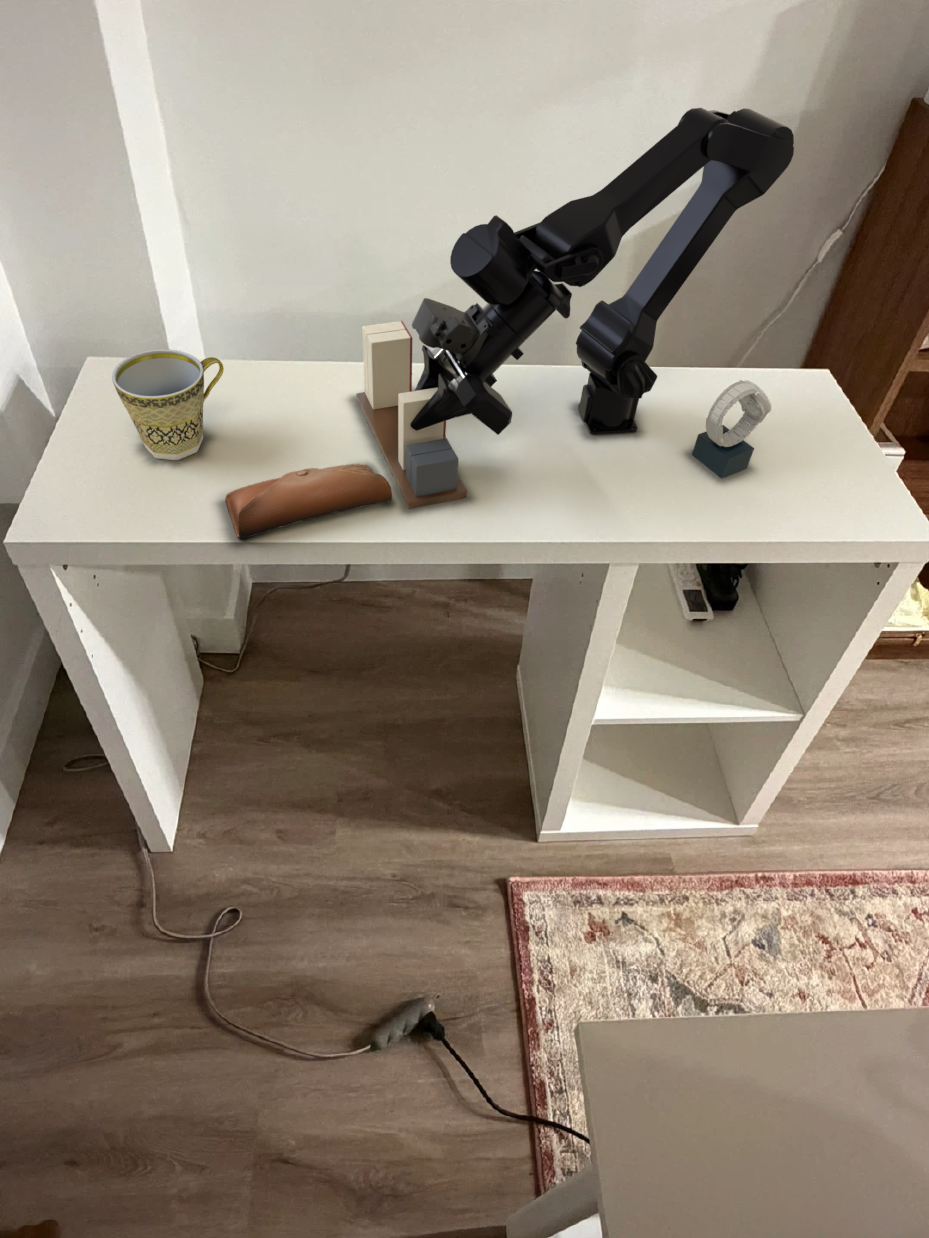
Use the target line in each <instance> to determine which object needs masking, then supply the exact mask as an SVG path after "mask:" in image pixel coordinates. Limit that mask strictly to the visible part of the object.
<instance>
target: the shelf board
mask: <svg viewBox="0 0 929 1238" xmlns="http://www.w3.org/2000/svg"><path fill="white" fill-rule="evenodd" d="M355 394H356V396H355V397H356V402H357V403H358V406H359V408H360V410H361V412H362V414H363V416H364V418H365V420H366V423H367V424H368V426H369V429H370V431H371V433H372V435H373V437H374V439H375V441H376V444H377V445H378V447H379V449H380V451H381V454H382V456H383V458H384V460H385V462H386V465H387V466H388V469H389V471H390V472H391V475H392V477H393V479H394V481H395V483H396V485H397V487H398V489H399V492H400V494H401V496H402V497H403V500H404V502H405V504H406V506H407V509H414V508H419V507H425V506H429V505H435V504H440V503H446V502H450V501H456V500H460V499H466V498H467V496H468V491H467V489H466V487H465V484H464V483H463V481H462V479H461V478H460V476H459V474H458V473H457V488H456V490H451V491H446V492H440V493H435V494H430V495H425V496H419V497H416V496H415V494H414V492H413V489H412V487H411V485H410V483H409V481H408V479H407V477H406V470H403V469H402V467H401V465H400V463H399V461H398V406H392V407H386V408H380V409H373V408H372V406H371V404H370V402H369V400H368V398H367V396H366V394H365V391H363V392H357V393H355Z"/></svg>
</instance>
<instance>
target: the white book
mask: <svg viewBox="0 0 929 1238" xmlns="http://www.w3.org/2000/svg"><path fill="white" fill-rule="evenodd" d="M437 389H438V388H431V389H425V390H418V391H414V390H412V392H405V393H399V394H398V461H399V463H400V465H401V467H402V469H403V470H406V445H410V444H415V443H421V442H427V441H433V440H438V439H444V438H446V433H447V432H446V431H447V420H446V421H443V422H440V423H437V424H435V425H432V426H429V427H426V428H423V429H420V430H417V431H416V430H414V429H413V428H412V427H411V426H410V424H411V422H412V421H413V419H414V418H415V417H416V415H417V414H418V413H419V411H420V410H421V409H422V408H423V407H424V406H425V404H426V403H427V402H428V401H429V400H430V398H431V397H432V396H433V395H434V394H435V392H436V391H437Z"/></svg>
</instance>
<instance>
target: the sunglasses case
mask: <svg viewBox="0 0 929 1238" xmlns="http://www.w3.org/2000/svg"><path fill="white" fill-rule="evenodd" d="M224 500H225V501H224V502H225V505H226V508H227V510H228V515H229V518H230V520H231V523H232V527H233V530H234V533H235V537H236V539H238V540H239V539H241V538H243V539H244V538H245V539H246V538H250V537H253V536H255V535H260V534H263V533H266V532H269V531H274V530H277V529H279V528H283V527H287V526H291V525H293V524H296V523H299V522H305V521H309V520H313V519H317V518H321V517H325V516H329V515H332V514H335V513H342V512H346V511H350V510H355V509H359V508H362V507H368V506H373V505H376V504H379V503H380V504H381V503H385V502H391V501H392V500H393V493H392V486H391V485H390V482H389V481H388V479H387V478H386V477H385V476H383V475H381V474H380V473H379V474H378V473H376V472H374V471H373V470H372V469H371V467H369V465H367V464H360V463H352V464H342V465H335V466H330V467H325V468H317V467H311V468H305V469H301V470H295V471H290V472H287V473H285V474H283V475H281V477H276V478H271V479H267V480H263V481H260V482H256V483H253V484H249V485H246V486H243V487H239V488H236V489H234V490H232V491H229V492H228V493H227V494H226V495H225V499H224Z"/></svg>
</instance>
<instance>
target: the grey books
mask: <svg viewBox="0 0 929 1238" xmlns="http://www.w3.org/2000/svg"><path fill="white" fill-rule="evenodd" d="M458 473H459V457H458V455H457V454H456V452H455V450H454V448H453V447H452V445H451V443H450V441H449V440H448V438H447V437H445V438H444V439H438V440H433V441H427V442H421V443H415V444H410V445H406V477H407V479H408V481H409V483H410V485H411V487H412V489H413V492H414V494H415V496H416V497H419V496H425V495H430V494H435V493H440V492H446V491H451V490H456V488H457V474H458Z"/></svg>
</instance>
